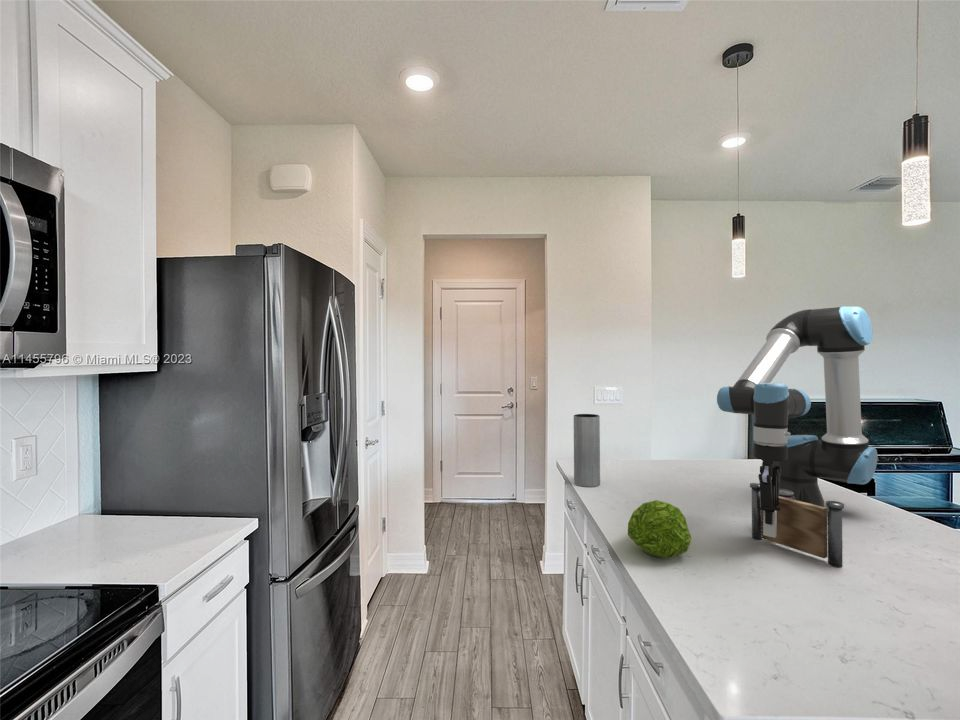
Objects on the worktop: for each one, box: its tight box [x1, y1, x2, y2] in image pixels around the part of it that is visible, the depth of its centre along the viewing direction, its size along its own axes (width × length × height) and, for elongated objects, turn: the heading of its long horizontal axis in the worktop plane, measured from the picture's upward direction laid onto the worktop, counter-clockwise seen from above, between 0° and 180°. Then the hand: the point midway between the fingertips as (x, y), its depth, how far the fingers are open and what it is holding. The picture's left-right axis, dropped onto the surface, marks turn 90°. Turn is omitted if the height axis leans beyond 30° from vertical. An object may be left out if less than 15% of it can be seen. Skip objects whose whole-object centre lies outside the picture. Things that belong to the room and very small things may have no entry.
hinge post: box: [825, 500, 845, 568], centre depth 115 cm, size 4×4×15 cm
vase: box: [573, 413, 601, 488], centre depth 190 cm, size 10×10×27 cm
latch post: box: [749, 482, 763, 541], centre depth 132 cm, size 3×3×15 cm
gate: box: [762, 496, 828, 559], centre depth 123 cm, size 15×3×12 cm, turn 29°
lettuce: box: [627, 499, 692, 559], centre depth 127 cm, size 15×24×14 cm, turn 156°
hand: (769, 535), depth 123 cm, fingers closed
